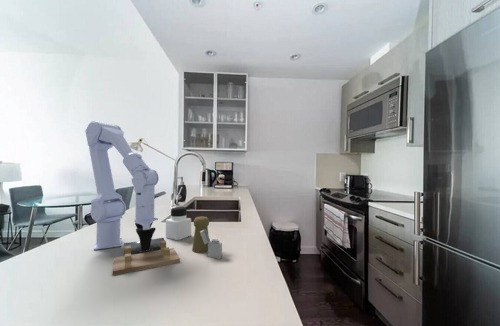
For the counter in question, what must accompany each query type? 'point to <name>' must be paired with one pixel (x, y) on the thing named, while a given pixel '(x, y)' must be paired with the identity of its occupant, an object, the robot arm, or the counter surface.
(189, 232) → the medicine bottle
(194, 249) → the cork
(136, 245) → the tube
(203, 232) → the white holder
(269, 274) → the counter surface
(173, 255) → the stand
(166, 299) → the counter surface
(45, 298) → the counter surface
